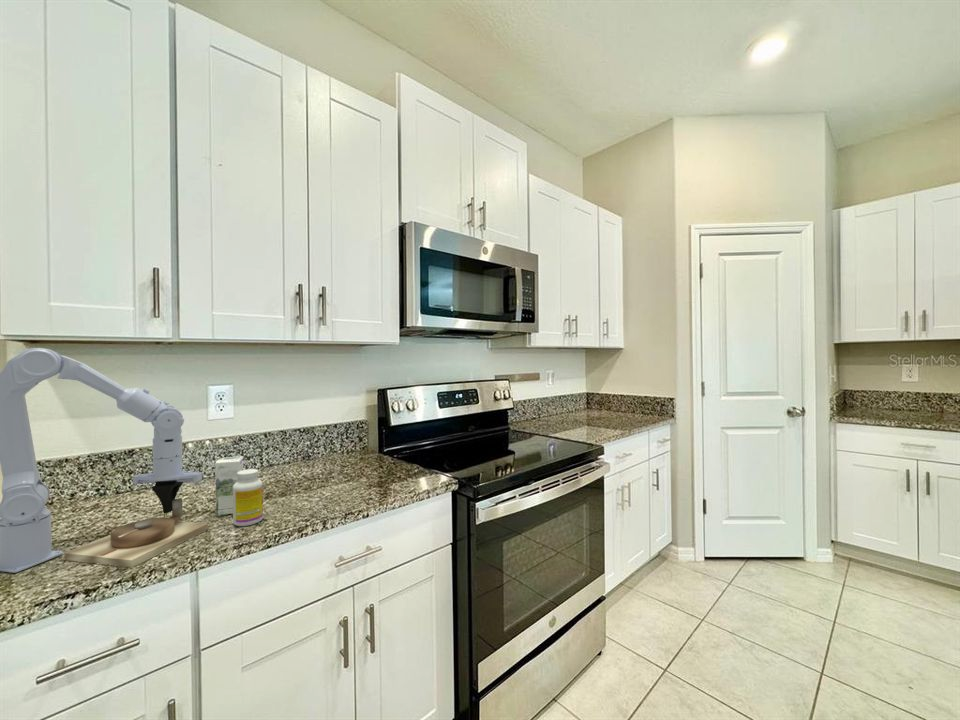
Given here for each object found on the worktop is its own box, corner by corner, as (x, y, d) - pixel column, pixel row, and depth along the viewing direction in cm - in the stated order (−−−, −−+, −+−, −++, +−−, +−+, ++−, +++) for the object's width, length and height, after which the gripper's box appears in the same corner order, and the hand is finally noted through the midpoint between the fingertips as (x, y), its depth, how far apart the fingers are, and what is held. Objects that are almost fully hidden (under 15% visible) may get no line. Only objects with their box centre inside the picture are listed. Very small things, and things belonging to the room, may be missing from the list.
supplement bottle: (267, 521, 103) (266, 471, 103) (238, 529, 98) (237, 476, 98) (257, 514, 108) (256, 466, 108) (229, 522, 103) (228, 471, 103)
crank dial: (140, 549, 85) (140, 524, 85) (96, 545, 86) (96, 521, 86) (200, 520, 99) (200, 499, 99) (161, 518, 101) (161, 497, 101)
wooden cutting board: (64, 560, 84) (64, 552, 84) (150, 524, 101) (150, 518, 101) (131, 567, 80) (131, 559, 80) (208, 529, 98) (208, 523, 98)
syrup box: (244, 506, 114) (243, 455, 113) (240, 514, 108) (239, 460, 108) (220, 509, 111) (219, 457, 111) (215, 517, 106) (214, 462, 106)
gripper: (208, 451, 104) (209, 504, 104) (147, 453, 102) (147, 507, 102) (192, 458, 97) (192, 515, 97) (125, 460, 95) (126, 518, 95)
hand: (168, 511), depth 99 cm, fingers closed
